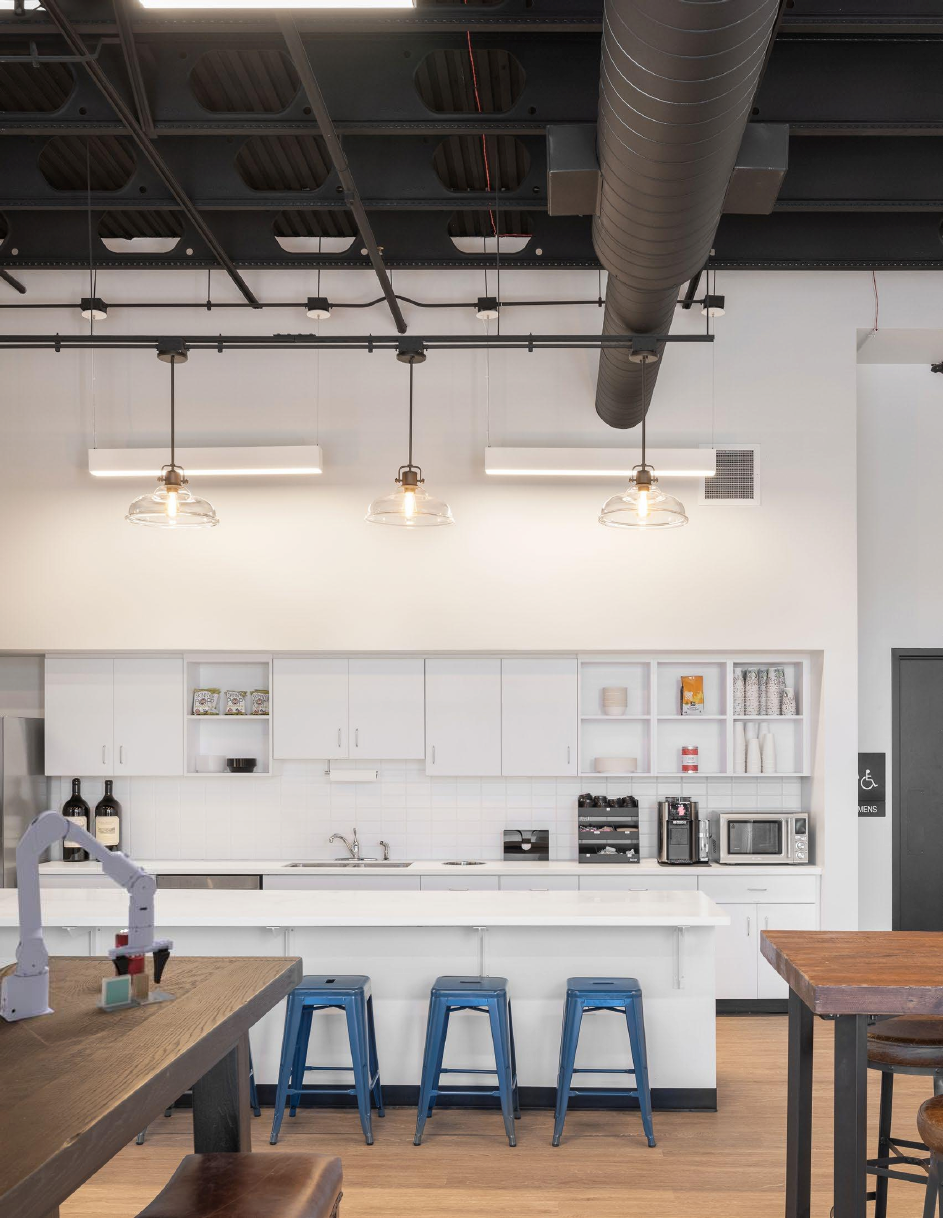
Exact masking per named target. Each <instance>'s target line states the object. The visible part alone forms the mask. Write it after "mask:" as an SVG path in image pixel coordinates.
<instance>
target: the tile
mask: <svg viewBox="0 0 943 1218" xmlns="http://www.w3.org/2000/svg"><path fill="white" fill-rule="evenodd" d="M101 979H102V982H101V1001H102V1004H101V1006H102V1007H103V1008H104V1007H110V1006H115V1005H120V1004H126V1003H130V997H131V993H132V992H131V991H132V989H131V986H132V983H131V975H129V974H127V975H121V976H115V975H114V976H110V977H104V978H101Z"/></svg>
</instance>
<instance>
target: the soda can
mask: <svg viewBox="0 0 943 1218" xmlns="http://www.w3.org/2000/svg"><path fill="white" fill-rule="evenodd" d="M128 931H129V929H123V930H120V931H117V932H116V933H115V935H114V948H119V947H123V946H127V945H128ZM146 956H147V953H143V954H137V955H131V956H126V958H127V960H129V967H128V974H129V975H131V984H133V975H134V974H140V973H146V964H147V963H146V962H147V960H146ZM115 976H119V975H118V972H117V970H116V967H115V966H114V977H115Z"/></svg>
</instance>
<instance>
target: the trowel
mask: <svg viewBox="0 0 943 1218" xmlns="http://www.w3.org/2000/svg"><path fill="white" fill-rule="evenodd" d="M149 983H150V974H148V973H146V972H145V973H140V974H134V975H133V983H132V989H131V991H132V992H131V997H130V999H131V1000H132V1001H134V1002H136V1003H138V1004H139V1005H140V1006H144V1004H145V1005H150V1004H149V1003H151V1004H156V1003H160V1001H161V1002H163V1001H162V998H160V997H158V996H156V995H154V994H152V993H150V992H151V991H149V990H150V984H149ZM155 1002H156V1003H155Z"/></svg>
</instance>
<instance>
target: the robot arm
mask: <svg viewBox="0 0 943 1218" xmlns="http://www.w3.org/2000/svg"><path fill="white" fill-rule="evenodd" d="M26 829H27V830H26V831H25V833H24V834H23V835H22V838H21V839H20V841H19V842H18V844H17V846H16V847H15V859H16V860H15V861H16V862H15V863H16V864H15V865H16V877H17V879H16V880H17V881H16V883H17V898H18V899H17V903H18V904H17V905H18V922H19V923H18V924H19V926H18V927H19V934H18V935H19V938H18V939H19V942H18V945H17V947H16V950H15V958H16V961H17V966H16V968H15V969H14V970H13V974H11V975H9V976H4V977H3V978H2V982H1V986H0V987H1V989H0V991H1V992H0V1015H1V1017H3V1018H4V1019H5V1020H6V1021H8V1022H13V1021H19V1020H21V1019H22V1020H23V1019H27V1018H34V1017H37V1016H42V1015H48V1014H53V1013H55V1011H54V1010H53V1009H51V1008H50V1007H49V988H50V986H49V983H50V967H49V966H47V965H48V962H49V959H50V958H49V957H50V956H49V952H48V950H47V949H46V948H47V947H46V944H45V943H44V936H43V935H44V934H43V928H42V927H43V926H42V907H41V889H40V888H41V887H40V886H41V885H40V868H39V867H40V865H39V856H40V855H41V854H42V853H43V852H44V851H45V849H47V848H48V847H49V846H50V845H52V844H53V843H56V842H57V841H59V840H60V839H62V840H63V841H64V842H69V843H76V844H77V845H79V846H80V847H81V848H82V849H84V851H86V852H88V854H90V855H91V856H93V857H94V858H95V859H96V860H98V861H99V862H101V871H102V872H103V873H104V874H105V875H107V876H108V877H109V878H110V879H111V880H113V881H114V882H115V883H116V884H118V885H119V886H120V887H121V888H123V889H124V888H125V889H126V890H127V891H126V892H127V893H128V894H129V906H128V930H129V931H128V945H127V946H123V947H119V948H115V947H114V948H110V949H108V959H110V960H111V961H112V963H113V966H114V968H115V967H116V970H117V972H118V975H119V976H121V975H127V974H128V967H129V960H127V958H126V956H131V955H137V954H143V953H146V954H148V953H152V957H153V970H154V971H153V982H154V984H155V985H158V984H159V985H160V984H161V980H162V975H163V973H164V969H165V967H166V965H167V962H168V960H169V958H170V956H171V950H174V941H173V940H171V939H165V940H159V941H158V940H156V941H155V904H154V903H155V898H154V897H155V896H154V895H155V894H156V892H157V889H158V886H157V883H156V881H155V879H154V878H153V876H151V875H150V874H148V872H146V871H145V868H144V867H143V866H142V865H141V866H138V864H137V863H135V862H134V861H133V860H131V859H130V854H128V853H127V852H122V851H120V850H119V851H111V850H109V848H108V847H106V846H105V845H104V844H102V843H101V841H99V840H98V839H97V838H96V837H94V836H93V835H92V834H91V833H90V832H89V831H88V830H86V828H84V827H83V826H81V824H78V823H76V822H75V821H73V820H72V819H70V818H68V817H66V816H65V815H62V814H61V813H60V812H58V811H56V810H52V809H48V810H45V811H43V812H41V813H40V814H38V815H37V816H36V817H35V818H34V819H33V820H32V821H31V822H30V823H29V825H28V828H26Z"/></svg>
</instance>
